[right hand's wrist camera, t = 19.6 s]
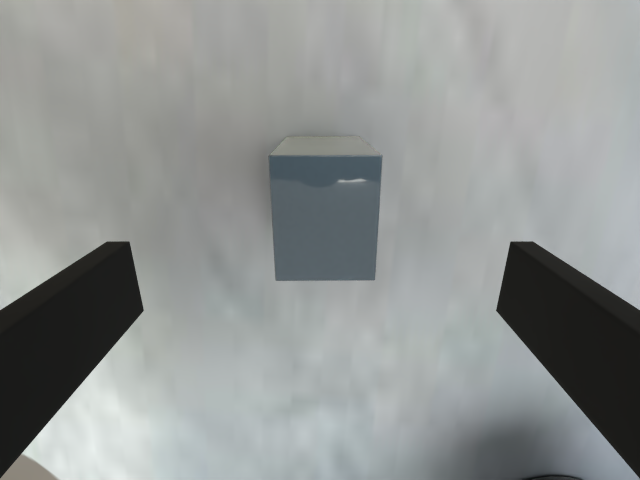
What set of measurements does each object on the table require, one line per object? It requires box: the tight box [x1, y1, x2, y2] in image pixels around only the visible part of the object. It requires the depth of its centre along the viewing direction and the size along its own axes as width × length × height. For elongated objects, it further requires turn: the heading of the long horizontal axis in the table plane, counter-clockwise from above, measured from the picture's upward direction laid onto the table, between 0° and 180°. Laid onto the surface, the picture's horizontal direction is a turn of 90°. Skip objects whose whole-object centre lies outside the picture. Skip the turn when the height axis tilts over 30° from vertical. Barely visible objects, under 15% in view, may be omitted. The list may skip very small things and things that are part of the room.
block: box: [269, 136, 382, 281], centre depth 23 cm, size 7×6×10 cm
